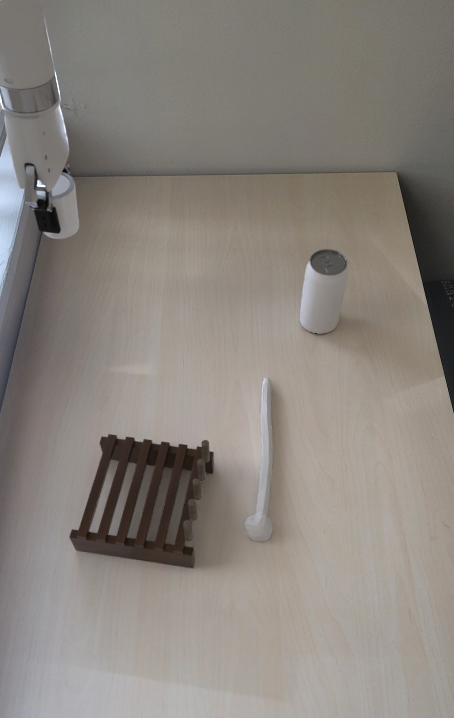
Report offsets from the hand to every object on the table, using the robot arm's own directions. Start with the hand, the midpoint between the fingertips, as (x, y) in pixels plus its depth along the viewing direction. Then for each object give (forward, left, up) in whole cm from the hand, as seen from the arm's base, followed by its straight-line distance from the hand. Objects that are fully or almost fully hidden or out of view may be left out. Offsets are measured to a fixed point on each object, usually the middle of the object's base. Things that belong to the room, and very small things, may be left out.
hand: (57, 214), depth 96 cm
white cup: (0, 0, -2) cm, 2 cm away
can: (+41, 0, -15) cm, 44 cm away
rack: (+21, -39, -15) cm, 47 cm away
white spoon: (+35, -28, -15) cm, 47 cm away
